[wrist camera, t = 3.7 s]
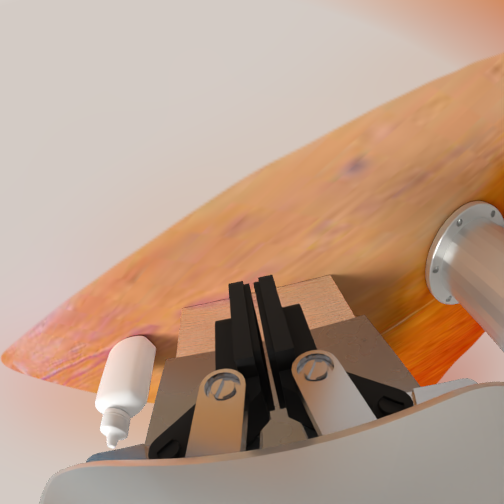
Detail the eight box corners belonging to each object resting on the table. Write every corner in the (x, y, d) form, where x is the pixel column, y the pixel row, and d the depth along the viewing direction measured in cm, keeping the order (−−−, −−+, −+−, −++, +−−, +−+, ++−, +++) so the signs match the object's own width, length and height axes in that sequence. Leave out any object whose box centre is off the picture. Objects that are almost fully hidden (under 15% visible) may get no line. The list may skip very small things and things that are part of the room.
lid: (365, 326, 22) (364, 314, 21) (472, 481, 8) (479, 470, 7) (171, 369, 22) (166, 359, 21) (135, 552, 8) (124, 545, 7)
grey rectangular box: (353, 268, 28) (391, 321, 21) (354, 355, 34) (378, 407, 27) (158, 313, 28) (145, 376, 21) (196, 390, 34) (196, 447, 27)
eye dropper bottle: (162, 363, 31) (150, 460, 21) (114, 363, 31) (91, 454, 20) (153, 333, 30) (134, 436, 19) (102, 334, 29) (70, 429, 18)
